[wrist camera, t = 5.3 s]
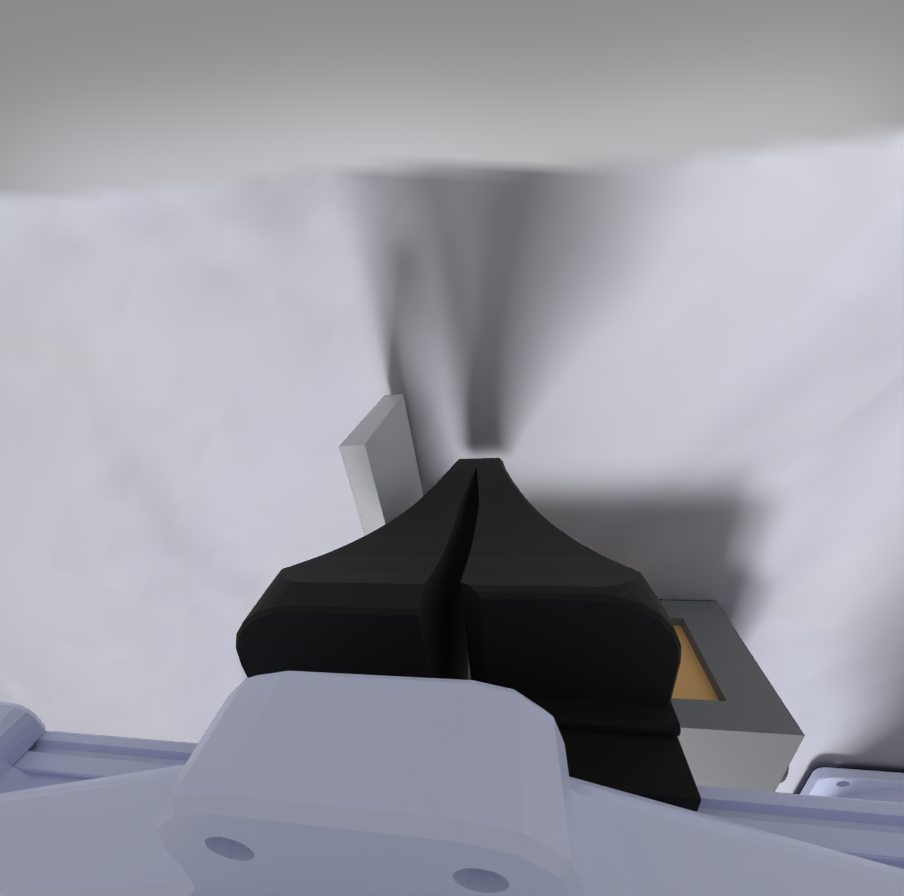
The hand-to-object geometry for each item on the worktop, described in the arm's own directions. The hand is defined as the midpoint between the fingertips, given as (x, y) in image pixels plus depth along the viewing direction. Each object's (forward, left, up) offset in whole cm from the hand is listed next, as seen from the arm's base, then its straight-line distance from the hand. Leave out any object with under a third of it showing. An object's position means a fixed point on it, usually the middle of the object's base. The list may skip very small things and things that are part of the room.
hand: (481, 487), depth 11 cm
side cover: (+2, +2, -1) cm, 3 cm away
